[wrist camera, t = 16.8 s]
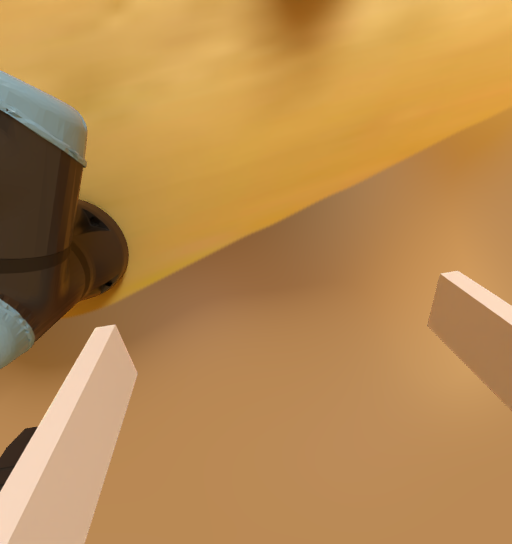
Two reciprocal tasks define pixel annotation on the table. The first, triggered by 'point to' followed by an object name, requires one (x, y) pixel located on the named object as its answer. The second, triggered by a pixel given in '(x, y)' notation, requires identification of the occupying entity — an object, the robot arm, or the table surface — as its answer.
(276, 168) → the table surface
